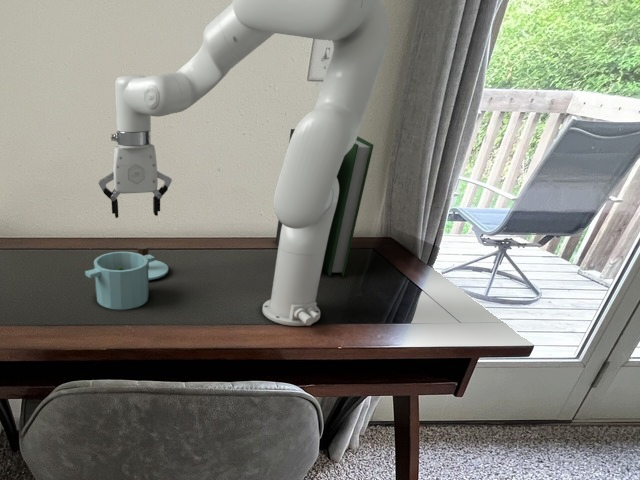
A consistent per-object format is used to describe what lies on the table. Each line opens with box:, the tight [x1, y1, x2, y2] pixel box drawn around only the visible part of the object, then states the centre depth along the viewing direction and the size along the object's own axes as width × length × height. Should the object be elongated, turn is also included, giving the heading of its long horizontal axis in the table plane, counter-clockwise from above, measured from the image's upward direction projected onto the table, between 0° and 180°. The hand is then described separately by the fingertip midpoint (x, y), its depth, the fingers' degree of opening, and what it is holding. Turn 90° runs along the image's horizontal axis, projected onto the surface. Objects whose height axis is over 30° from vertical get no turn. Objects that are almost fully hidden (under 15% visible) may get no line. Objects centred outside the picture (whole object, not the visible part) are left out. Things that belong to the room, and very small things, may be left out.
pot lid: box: [136, 244, 169, 281], centre depth 127 cm, size 14×14×7 cm
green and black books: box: [275, 128, 374, 277], centre depth 128 cm, size 27×15×32 cm, turn 176°
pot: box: [84, 251, 156, 311], centre depth 114 cm, size 13×18×10 cm
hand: (136, 215), depth 116 cm, fingers open, 9 cm apart
